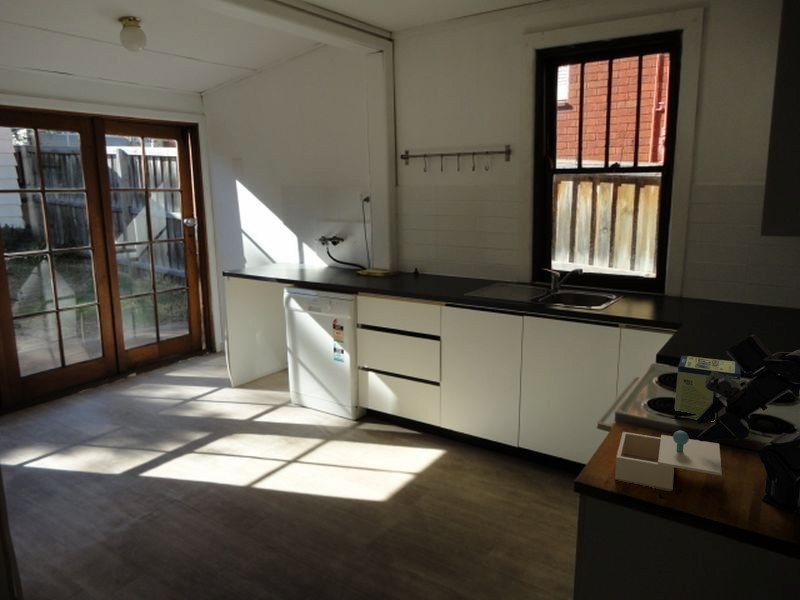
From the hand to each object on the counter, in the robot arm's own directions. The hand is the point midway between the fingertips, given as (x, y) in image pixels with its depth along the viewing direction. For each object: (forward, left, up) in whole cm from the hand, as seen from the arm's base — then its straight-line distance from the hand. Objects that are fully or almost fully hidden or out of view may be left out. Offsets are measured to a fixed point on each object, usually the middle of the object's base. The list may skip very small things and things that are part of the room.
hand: (698, 430), depth 131 cm
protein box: (+21, -34, -13) cm, 42 cm away
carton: (+9, +6, -12) cm, 16 cm away
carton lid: (+1, +1, -6) cm, 7 cm away
